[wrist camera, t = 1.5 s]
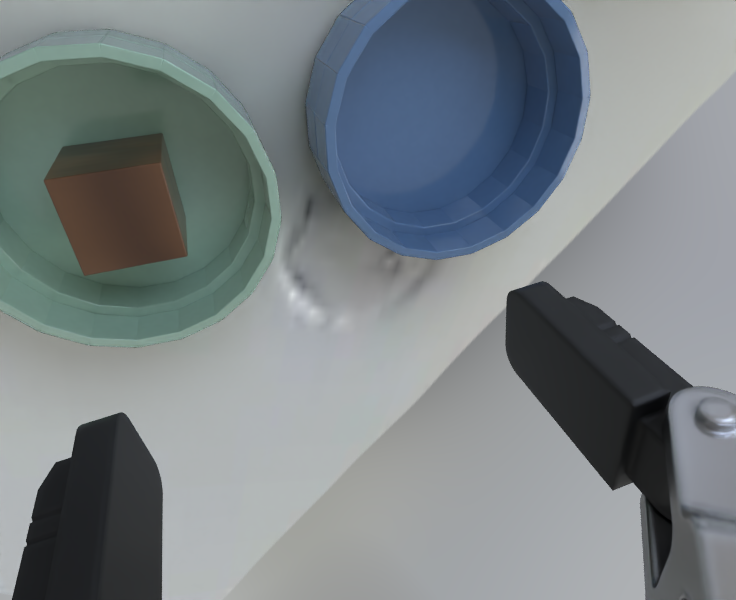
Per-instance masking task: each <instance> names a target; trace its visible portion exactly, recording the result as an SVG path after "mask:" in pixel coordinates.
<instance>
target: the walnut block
mask: <svg viewBox="0 0 736 600" xmlns="http://www.w3.org/2000/svg"><path fill="white" fill-rule="evenodd" d="M44 184H45V186H46V188H47V190H48V193H49V195H50V197H51V200H52V202H53V204H54V207H55V209H56V211H57V214H58V216H59V218H60V221H61V223H62V225H63V228H64V230H65V232H66V235H67V237H68V239H69V242H70V244H71V246H72V249H73V251H74V253H75V256H76V258H77V260H78V263H79V265H80V267H81V270H82V272H83V274H84V276H87V275H92V274H97V273H103V272H108V271H113V270H119V269H124V268H129V267H134V266H140V265H145V264H150V263H156V262H161V261H166V260H171V259H177V258H182V257H187V256H188V251H187V230H186V216H185V212H184V208H183V205H182V201H181V198H180V194H179V190H178V187H177V183H176V180H175V176H174V172H173V169H172V165H171V162H170V158H169V154H168V151H167V147H166V144H165V140H164V136H163V134H162V133H158V134H151V135H144V136H136V137H129V138H122V139H115V140H107V141H100V142H93V143H86V144H79V145H71V146H64V147H62V148H61V150H60V152H59V154H58V155H57V157H56V159H55V161H54V163H53V164H52V166H51V168H50V170H49V171H48V173H47V175H46V177H45V178H44Z"/></svg>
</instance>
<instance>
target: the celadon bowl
mask: <svg viewBox="0 0 736 600" xmlns="http://www.w3.org/2000/svg"><path fill="white" fill-rule="evenodd" d="M158 133H162V134H163V136H164V140H165V144H166V147H167V151H168V154H169V158H170V162H171V165H172V169H173V172H174V176H175V180H176V183H177V187H178V190H179V194H180V198H181V201H182V205H183V208H184V212H185V216H186V230H187V251H188V256H187V257H182V258H177V259H171V260H166V261H161V262H156V263H150V264H145V265H140V266H134V267H129V268H124V269H119V270H113V271H108V272H103V273H97V274H92V275H87V276H84V274H83V272H82V270H81V267H80V265H79V263H78V260H77V258H76V256H75V253H74V251H73V249H72V246H71V244H70V242H69V239H68V237H67V235H66V232H65V230H64V228H63V225H62V223H61V221H60V218H59V216H58V214H57V211H56V209H55V207H54V204H53V202H52V200H51V197H50V195H49V193H48V190H47V188H46V186H45V184H44V178H45V177H46V175H47V173H48V171H49V170H50V168H51V166H52V164H53V163H54V161H55V159H56V157H57V155H58V154H59V152H60V150H61V148H62V147H64V146H71V145H79V144H86V143H93V142H100V141H107V140H115V139H122V138H129V137H136V136H144V135H151V134H158ZM281 218H282V217H281V209H280V201H279V193H278V185H277V177H276V173H275V171H274V169H273V167H272V165H271V162H270V160H269V158H268V156H267V154H266V152H265V150H264V147H263V145H262V143H261V141H260V139H259V137H258V135H257V133H256V131H255V129H254V127H253V124H252V122H251V120H250V118H249V116H248V114H247V112H246V110H245V109H244V107H243V105H242V104H241V103H240V102H239V101H238V100H237V99H236V98H235V97H234V96H233V94H232V93H231V92H230V91H229V90H228V89H227V88H226V87H225V86H224V85H223V84H222V83H221V81H220V80H219V79H218V78H217V77H216V76H215V75H214V74H213V73H212V72H211V71H210V70H209V69H207V68H205V67H204V66H202V65H200V64H199V63H197V62H195V61H194V60H192V59H190V58H189V57H187V56H185V55H184V54H182V53H180V52H179V51H177V50H175V49H174V48H172V47H170V46H169V45H167V44H164V43H162V42H158V41H154V40H151V39H147V38H143V37H139V36H135V35H131V34H127V33H123V32H120V31H116V30H110V29H102V30H85V31H68V32H56V33H52V34H50V35H47V36H45V37H43V38H40V39H38V40H36V41H33V42H31V43H29V44H27V45H24V46H22V47H20V48H17V49H15V50H13V51H11V52H8V53H6V54H5V55H3V56H2V57H0V311H2V312H4V313H6V314H7V315H9V316H11V317H13V318H15V319H17V320H18V321H20V322H22V323H24V324H26V325H27V326H29V327H31V328H33V329H35V330H36V331H40V332H41V333H45V334H48V335H52V336H56V337H59V338H63V339H66V340H70V341H74V342H77V343H81V344H85V345H90V346H110V347H134V348H137V347H143V346H149V345H154V344H159V343H164V342H169V341H174V340H180V339H182V338H185V337H188V336H190V335H192V334H194V333H196V332H198V331H200V330H202V329H205V328H207V327H209V326H211V325H213V324H215V323H217V322H219V321H221V320H222V319H224V318H225V317H226V316H227V315H228V314H229V313H230V312H232V311H233V310H234V309H235V308H236V307H237V306H238V305H240V304H241V303H242V302H243V301H244V300H245V299H247V298H248V297H249V296H250V295H251V294H252V293H253V291H254V290H255V288H256V286H257V285H258V283H259V281H260V280H261V278H262V276H263V275H264V273H265V271H266V270H267V268H268V267H269V265H270V263H271V262H272V259H273V257H274V252H275V248H276V243H277V238H278V234H279V229H280V225H281Z"/></svg>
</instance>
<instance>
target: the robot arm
mask: <svg viewBox="0 0 736 600" xmlns="http://www.w3.org/2000/svg"><path fill="white" fill-rule="evenodd" d="M506 352H507V356H508V359H509V361H510V364H511V365H512V367H513V369H514V371H515V372H516V373H517V375H518V376H519V377H520V378H521V379H522V381H523V382H524V383H525V384H526V386H527V387H528V388H529V389H530V390H531V392H532V393H533V394H534V395H535V397H536V398H537V399H538V400H539V401H540V403H541V404H542V405H543V406H544V407H545V409H546V410H547V411H548V412H549V413H550V415H551V416H552V417H553V418H554V420H555V421H556V422H557V423H558V424H559V426H560V427H561V428H562V429H563V430H564V432H565V433H566V434H567V435H568V437H569V438H570V439H571V440H572V442H573V443H574V444H575V445H576V446H577V448H578V449H579V450H580V451H581V453H582V454H583V455H584V456H585V457H586V459H587V460H588V461H589V462H590V463H591V465H592V466H593V467H594V468H595V470H596V471H597V472H598V473H599V474H600V476H601V477H602V478H603V479H604V481H606V483H607V484H608V485H609V487H610V488H611V489H612V490H615V489H617V488H620V487H623V486H625V485H628V484H630V483H634V484H635V485H636V486H637V488H638V489H639V490H640V491H641V492H642V495H641V499H640V509H641V526H642V541H643V542H642V543H643V559H644V576H645V597H646V598H645V599H646V600H736V395H735V394H733V393H731V392H728V391H725V390H721V389H718V388H713V387H704V386H699V387H693V386H692V385H691V384H689V383H688V382H687V381H686V380H685V379H683V378H682V377H681V376H680V375H679V374H677V373H676V372H675V371H674V370H673V369H671V368H670V367H669V366H668V365H666V364H665V363H664V362H663V361H662V360H660V359H659V358H658V357H657V356H656V355H654V354H653V353H652V352H651V351H650V350H649V349H647V348H646V347H645V346H644V345H643V344H641V343H640V342H639V341H638V340H637V339H635V338H631V336H630V334H629V333H628V332H627V331H626V330H625V329H623V328H622V327H621V326H620V325H616V323H615V321H614V320H612V319H611V318H610V317H609V316H608V315H606V314H605V313H604V312H603V311H602V310H601V309H599V308H598V307H596V306H594V305H592V304H589V303H587V302H584V301H583V300H580V299H578V298H576V297H570V298H567V299H566V298H564V297H563V296H562V295H561V294H560V293H559V292H558V291H556V290H555V289H554V288H553V287H552V286H551V285H550V284H548V283H547V282H543V281H542V282H538V283H535V284H532V285H529V286H525V287H522V288H519V289H516V290H513V291H510V292H509V293H508V296H507V307H506ZM162 504H163V491H162V482H161V477H160V473H159V470H158V467H157V465H156V463H155V461H154V459H153V457H152V456H151V454H150V452H149V451H148V449H147V447H146V446H145V444H144V442H143V441H142V439H141V438H140V436H139V434H138V433H137V431H136V429H135V428H134V426H133V424H132V423H131V421H130V419H129V418H128V417H127V415H126V414H124V413H122V412H121V413H117V414H114V415H111V416H108V417H105V418H102V419H98V420H95V421H92V422H89V423H86V424H82V425H80V426H79V427H78V429H77V431H76V436H75V441H74V446H73V452H72V457H71V458H68V459H65V460H62V461H59V462H56V463H55V464H54V466H53V468H52V469H51V471H50V472H49V474H48V475H47V477H46V479H45V480H44V482H43V483H42V485H41V486H40V488H39V489H38V492H37V497H36V501H35V505H34V509H33V513H32V521H33V522H32V523H30V526H29V530H28V534H27V539H26V542H27V546H26V547H24V551H23V555H22V560H21V564H20V568H19V572H18V576H17V581H16V585H15V589H14V593H13V598H12V600H162Z"/></svg>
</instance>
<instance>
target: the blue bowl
mask: <svg viewBox="0 0 736 600" xmlns="http://www.w3.org/2000/svg"><path fill="white" fill-rule="evenodd" d="M589 101H590V80H589V63H588V53H587V49H586V46H585V44H584V41H583V39H582V36H581V34H580V31H579V29H578V26H577V24H576V21H575V18H574V16H573V13H572V12H571V10H570V9H569V8H568V7H567V6H566V5H565V4H564V3H563V2H562V1H561V0H354V1H353V2H352V3H351V4H350V5H349V6H348V7H347V8H346V9H345V10H344V11H343V12H341V13H340V16H338V17H337V19H336V21H335V22H334V24H333V26H332V28H331V30H330V32H329V33H328V35H327V37H326V39H325V41H324V42H323V44H322V46H321V48H320V50H319V51H318V53H317V55H316V58H315V61H314V65H313V70H312V74H311V79H310V84H309V88H308V93H307V98H306V116H307V128H308V139H309V146H310V149H311V151H312V154H313V156H314V158H315V161H316V163H317V166H318V168H319V170H320V173H321V175H322V177H323V180H324V181H325V183H326V185H327V186H328V188H329V189H330V191H331V192H332V194H333V195H334V197H335V198H336V200H337V201H338V203H339V204H340V206H341V207H342V209H343V210H344V212H345V213H346V214H347V215H348V216H349V217H350V219H351V220H352V221H353V222H354V223H355V224H356V225H357V226H358V227H359V228H360V230H361V231H362V232H363V233H364V234H365V235H366V236H367V237H368V238H369V239H370V240H372V241H374V242H376V243H378V244H380V245H382V246H384V247H386V248H388V249H390V250H392V251H393V252H395V253H397V254H399V255H402V256H410V257H417V258H425V259H433V260H439V259H445V258H451V257H456V256H462V255H467V254H472V253H474V252H477V251H479V250H481V249H483V248H485V247H487V246H489V245H491V244H493V243H495V242H497V241H500V240H502V239H504V238H506V237H507V236H509V235H510V234H511V233H512V232H513V231H515V230H516V229H517V228H518V227H520V226H521V225H522V224H523V223H524V222H526V221H527V220H528V219H529V218H531V217H532V216H533V215H534V214H535V213H537V212H538V211H539V209H540V208H541V207H542V205H543V204H544V203H545V202H546V200H547V199H548V198H549V196H550V195H551V194H552V193H553V191H554V190H555V189H556V187H557V186H558V185H559V184H560V182H561V181H562V180H563V178H564V176H565V174H566V172H567V170H568V167H569V165H570V163H571V161H572V159H573V157H574V155H575V153H576V150H577V148H578V146H579V144H580V142H581V139H582V135H583V130H584V125H585V121H586V116H587V111H588V106H589Z"/></svg>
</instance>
